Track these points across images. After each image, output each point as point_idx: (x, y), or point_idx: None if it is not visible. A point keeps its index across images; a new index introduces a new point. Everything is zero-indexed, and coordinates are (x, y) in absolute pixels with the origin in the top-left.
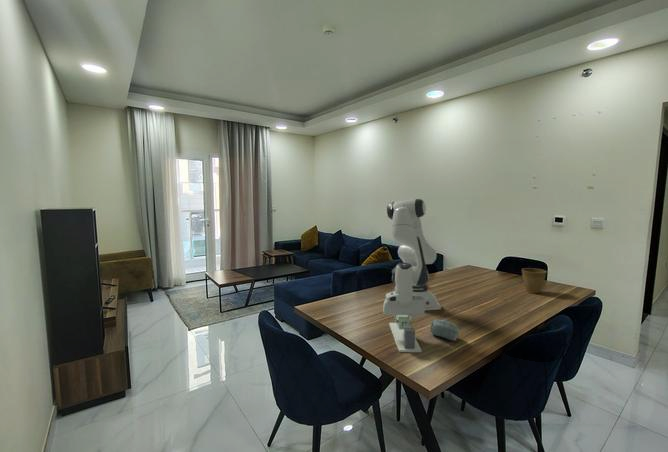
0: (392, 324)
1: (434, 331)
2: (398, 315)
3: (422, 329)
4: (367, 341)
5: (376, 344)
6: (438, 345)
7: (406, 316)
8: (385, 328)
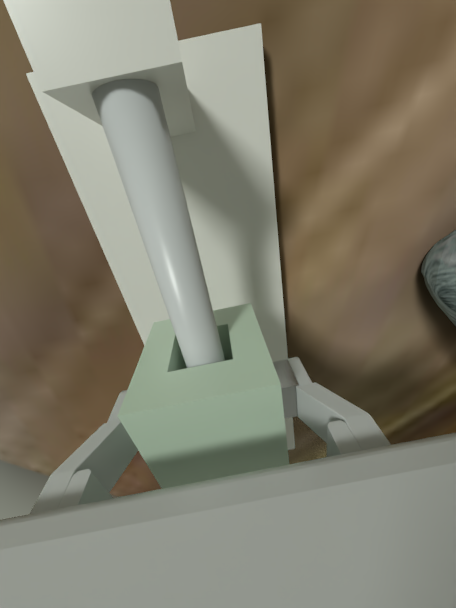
0: (84, 134)
1: (450, 319)
2: (135, 426)
3: (381, 163)
4: (16, 418)
5: (78, 431)
6: (390, 375)
7: (259, 429)
8: (44, 211)
